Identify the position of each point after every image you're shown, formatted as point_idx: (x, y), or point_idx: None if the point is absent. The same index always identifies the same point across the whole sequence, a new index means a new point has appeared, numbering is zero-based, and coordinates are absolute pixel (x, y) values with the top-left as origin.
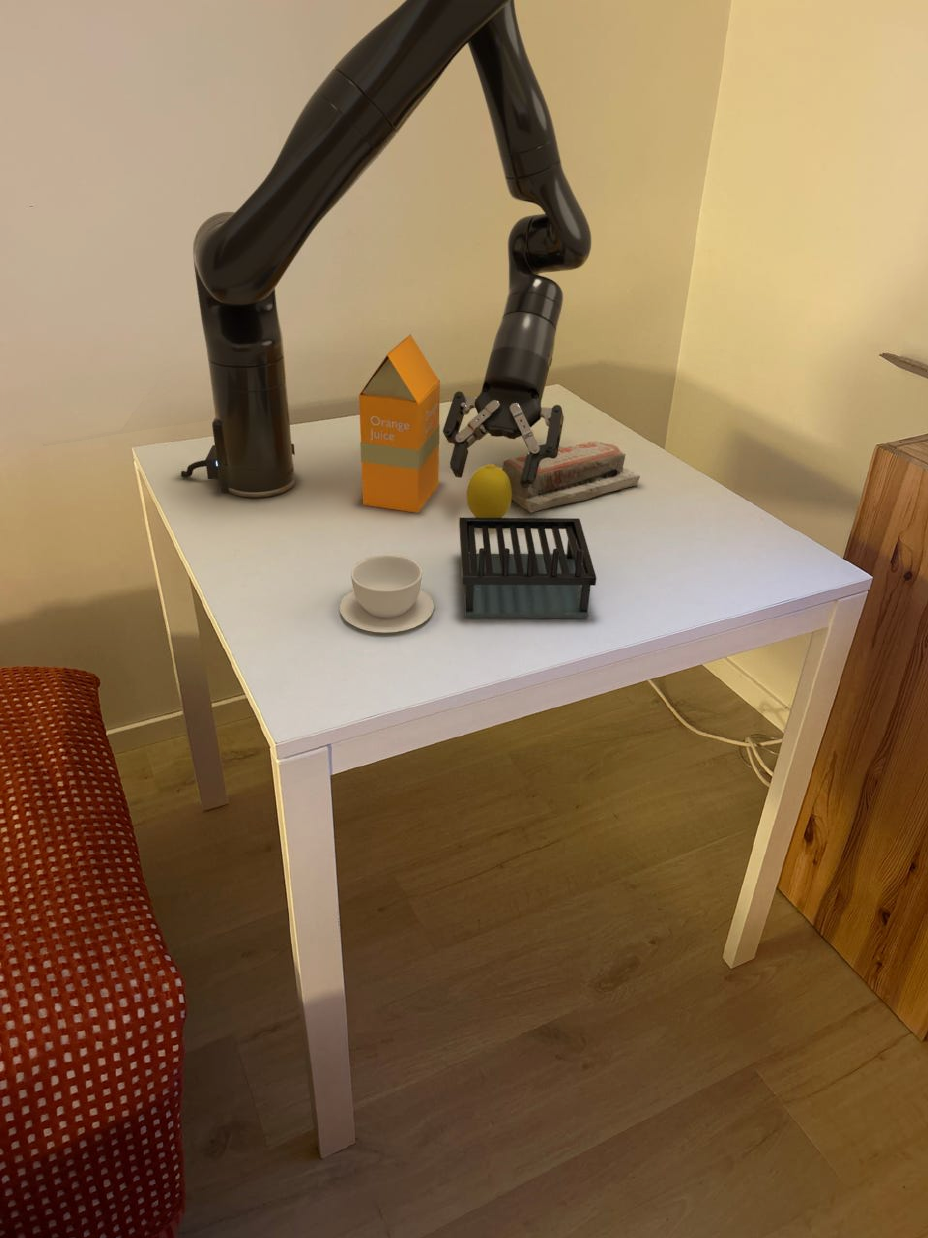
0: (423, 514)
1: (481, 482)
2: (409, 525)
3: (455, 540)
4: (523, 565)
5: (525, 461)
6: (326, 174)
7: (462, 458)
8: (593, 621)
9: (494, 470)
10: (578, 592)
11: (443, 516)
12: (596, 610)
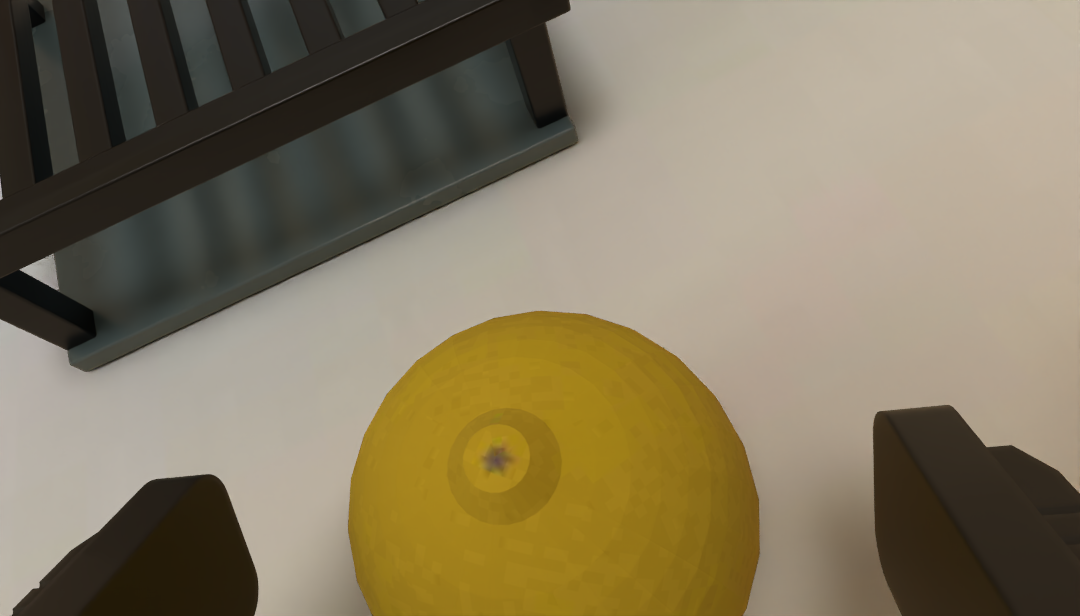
0: None
1: (554, 315)
2: (1041, 307)
3: (687, 275)
4: (275, 168)
5: (67, 613)
6: None
7: (943, 555)
8: None
9: (444, 425)
10: (47, 100)
11: None
12: None
